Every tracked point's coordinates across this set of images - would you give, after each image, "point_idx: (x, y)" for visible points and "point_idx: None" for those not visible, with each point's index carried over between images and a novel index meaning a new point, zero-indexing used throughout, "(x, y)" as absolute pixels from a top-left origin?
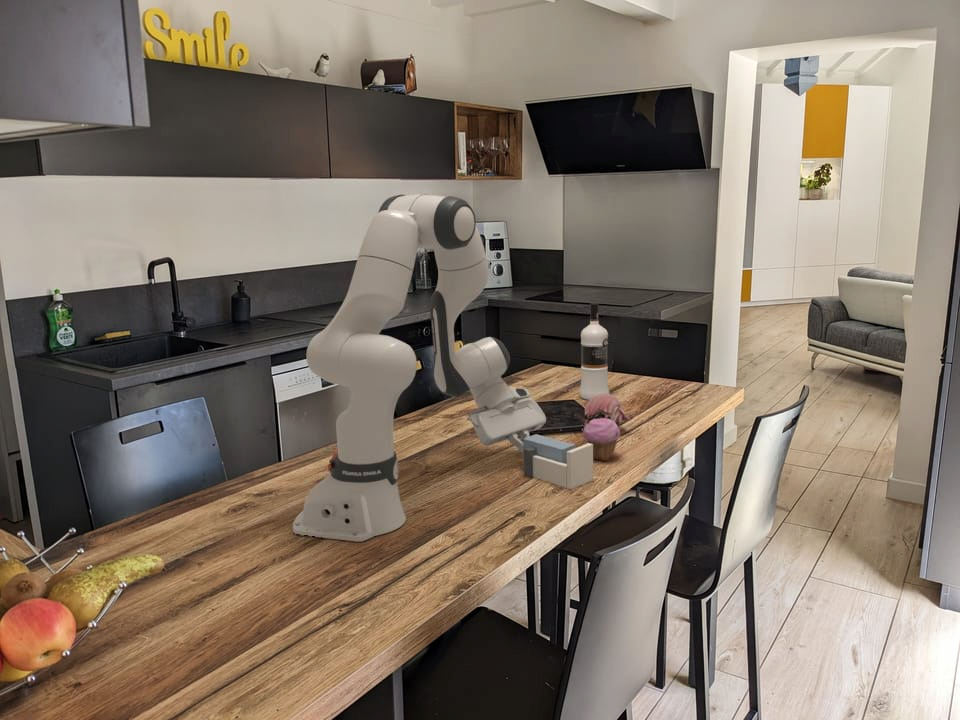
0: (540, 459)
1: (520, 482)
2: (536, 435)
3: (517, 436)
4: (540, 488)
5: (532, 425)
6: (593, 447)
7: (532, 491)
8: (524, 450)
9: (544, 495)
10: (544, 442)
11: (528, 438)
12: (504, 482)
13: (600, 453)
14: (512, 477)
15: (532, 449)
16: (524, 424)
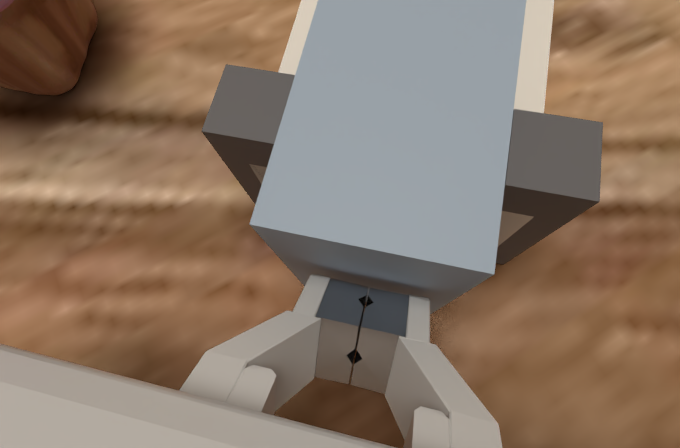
0: (544, 77)
1: (603, 230)
2: (293, 193)
3: (431, 412)
4: (600, 98)
5: (47, 357)
6: (53, 7)
7: (664, 110)
8: (594, 194)
9: (663, 41)
10: (470, 9)
11: (446, 217)
12: (673, 316)
13: (78, 1)
14: (568, 318)
15: (547, 127)
16: (154, 445)
